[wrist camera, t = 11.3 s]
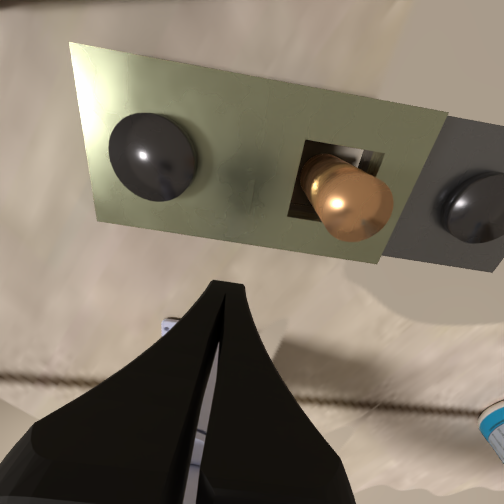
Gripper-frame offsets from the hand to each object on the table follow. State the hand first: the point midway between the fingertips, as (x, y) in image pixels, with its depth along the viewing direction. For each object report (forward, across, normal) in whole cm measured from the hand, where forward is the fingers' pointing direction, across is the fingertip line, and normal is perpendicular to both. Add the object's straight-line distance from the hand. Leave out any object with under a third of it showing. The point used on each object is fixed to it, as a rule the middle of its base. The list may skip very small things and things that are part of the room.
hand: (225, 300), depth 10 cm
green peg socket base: (+9, -5, -4) cm, 11 cm away
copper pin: (+9, -5, -4) cm, 11 cm away
